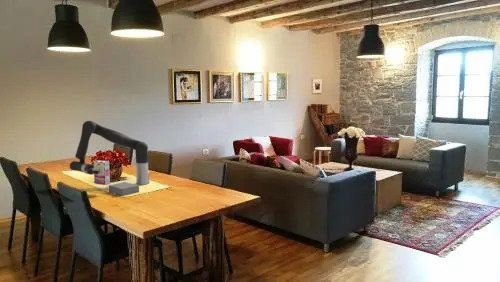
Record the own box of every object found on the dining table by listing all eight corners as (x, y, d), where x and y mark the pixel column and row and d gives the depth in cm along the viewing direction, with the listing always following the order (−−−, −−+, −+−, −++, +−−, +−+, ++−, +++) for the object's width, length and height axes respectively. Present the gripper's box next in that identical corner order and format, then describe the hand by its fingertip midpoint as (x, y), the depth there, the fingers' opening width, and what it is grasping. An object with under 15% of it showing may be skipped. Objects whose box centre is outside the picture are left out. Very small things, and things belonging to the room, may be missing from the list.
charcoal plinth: (125, 188, 295) (125, 182, 295) (139, 192, 285) (138, 185, 284) (108, 192, 284) (108, 185, 284) (122, 196, 274) (122, 189, 273)
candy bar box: (110, 183, 278) (109, 161, 276) (105, 185, 273) (104, 162, 271) (99, 182, 283) (98, 159, 281) (94, 183, 279) (93, 160, 277)
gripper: (79, 165, 281) (91, 168, 271) (97, 162, 292) (110, 165, 282) (79, 175, 282) (92, 178, 272) (98, 172, 293) (110, 175, 283)
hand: (101, 171), depth 277 cm, fingers closed on candy bar box, 5 cm apart
